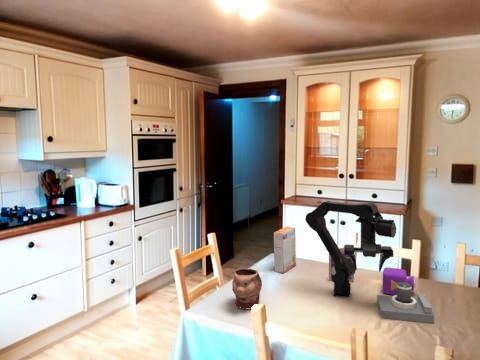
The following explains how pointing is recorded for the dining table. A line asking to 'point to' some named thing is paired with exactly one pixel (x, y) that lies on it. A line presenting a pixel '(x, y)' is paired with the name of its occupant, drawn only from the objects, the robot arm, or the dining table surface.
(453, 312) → the dining table surface
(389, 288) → the toy camera
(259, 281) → the decorative planter
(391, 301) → the mount
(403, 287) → the lens
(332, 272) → the purple printed box
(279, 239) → the cracker box
